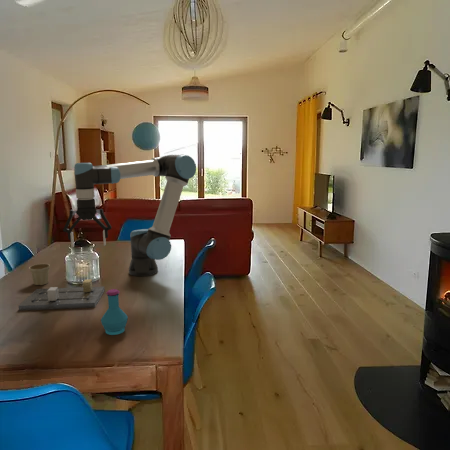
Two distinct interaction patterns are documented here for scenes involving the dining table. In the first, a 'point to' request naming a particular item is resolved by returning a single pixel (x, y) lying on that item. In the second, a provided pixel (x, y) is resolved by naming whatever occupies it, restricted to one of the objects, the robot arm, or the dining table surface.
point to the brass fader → (87, 285)
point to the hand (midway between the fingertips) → (89, 246)
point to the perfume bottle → (114, 315)
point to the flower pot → (40, 273)
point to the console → (63, 299)
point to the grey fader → (53, 294)
